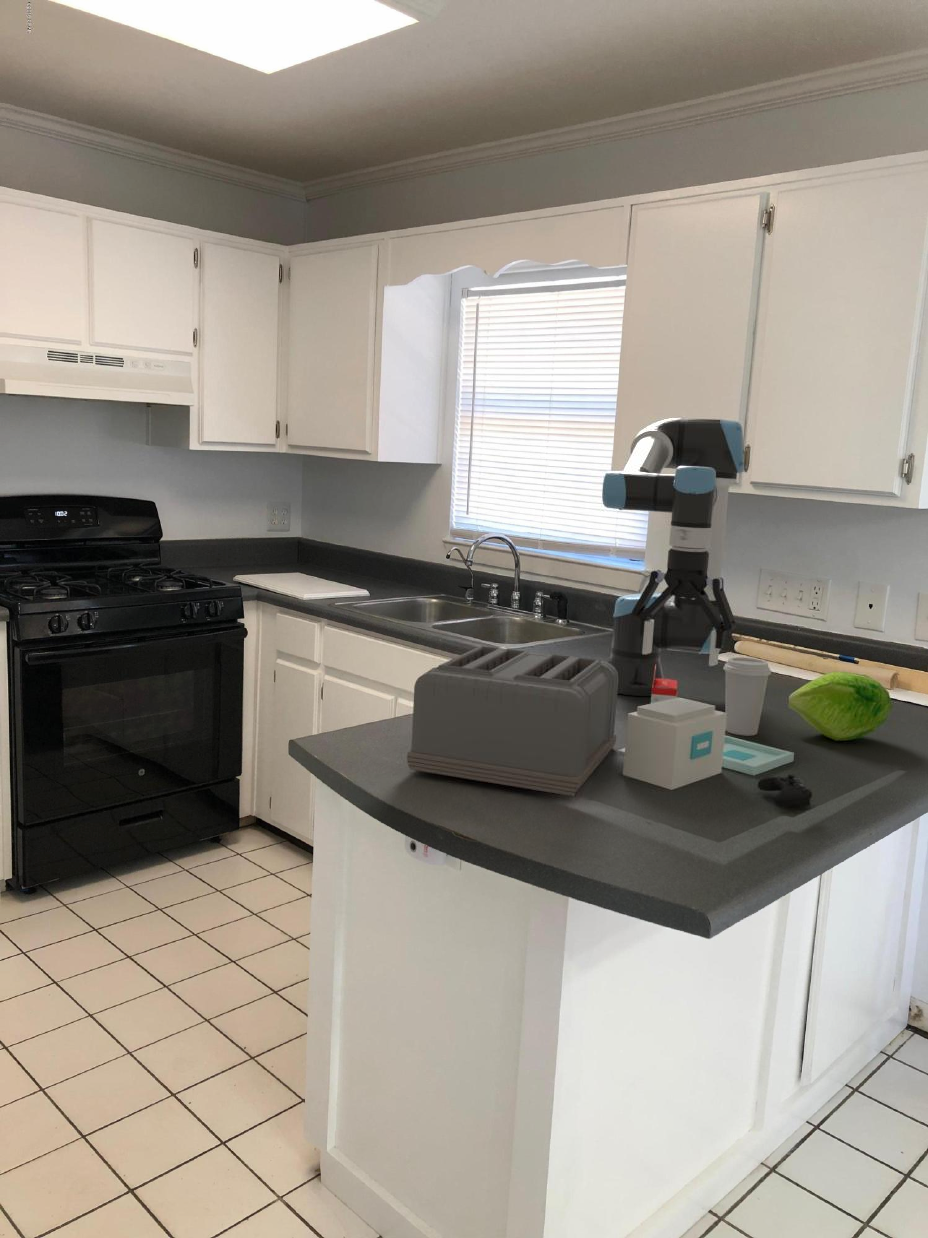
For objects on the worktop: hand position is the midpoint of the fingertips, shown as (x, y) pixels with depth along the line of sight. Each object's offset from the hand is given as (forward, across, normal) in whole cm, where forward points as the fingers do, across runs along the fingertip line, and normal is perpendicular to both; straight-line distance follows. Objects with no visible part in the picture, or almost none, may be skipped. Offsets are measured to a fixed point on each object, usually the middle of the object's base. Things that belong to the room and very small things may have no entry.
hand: (679, 659), depth 195 cm
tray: (+17, +13, +1) cm, 22 cm away
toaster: (+17, -18, -27) cm, 37 cm away
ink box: (+18, -3, +2) cm, 18 cm away
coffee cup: (+18, +6, +21) cm, 29 cm away
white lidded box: (+17, +8, -17) cm, 25 cm away
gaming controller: (+17, +26, -20) cm, 37 cm away
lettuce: (+18, +23, +33) cm, 44 cm away
